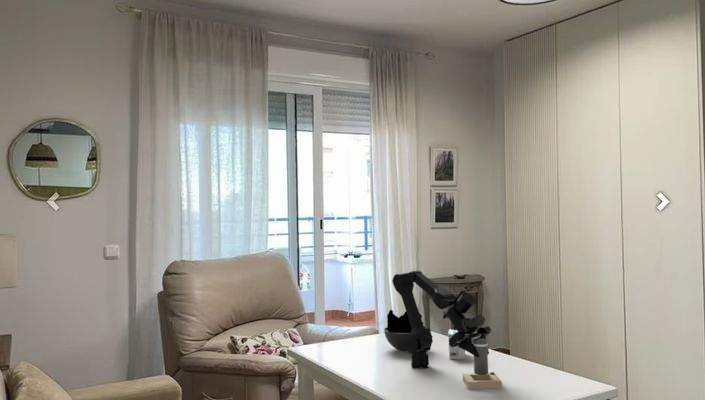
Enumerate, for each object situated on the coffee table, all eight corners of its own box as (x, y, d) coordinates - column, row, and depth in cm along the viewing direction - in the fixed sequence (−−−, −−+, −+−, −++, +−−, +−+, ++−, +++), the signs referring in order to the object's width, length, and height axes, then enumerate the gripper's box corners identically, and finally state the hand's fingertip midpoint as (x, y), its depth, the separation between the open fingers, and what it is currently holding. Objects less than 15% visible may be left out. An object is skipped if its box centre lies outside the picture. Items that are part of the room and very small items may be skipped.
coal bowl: (435, 348, 258) (434, 307, 258) (416, 358, 241) (415, 315, 241) (397, 343, 269) (396, 304, 269) (376, 353, 252) (375, 311, 252)
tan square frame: (468, 389, 198) (467, 380, 198) (462, 380, 208) (462, 372, 208) (501, 388, 198) (501, 379, 198) (494, 379, 208) (494, 371, 208)
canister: (471, 373, 202) (470, 340, 203) (476, 370, 207) (475, 337, 207) (485, 375, 200) (484, 342, 200) (490, 371, 204) (489, 339, 204)
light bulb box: (465, 359, 237) (464, 334, 237) (448, 359, 238) (448, 334, 238) (465, 353, 247) (464, 329, 247) (449, 353, 248) (448, 328, 249)
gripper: (453, 311, 201) (478, 347, 192) (486, 304, 212) (511, 338, 204) (438, 329, 207) (461, 365, 198) (471, 322, 219) (495, 355, 210)
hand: (483, 355), depth 202 cm, fingers closed on canister, 5 cm apart
